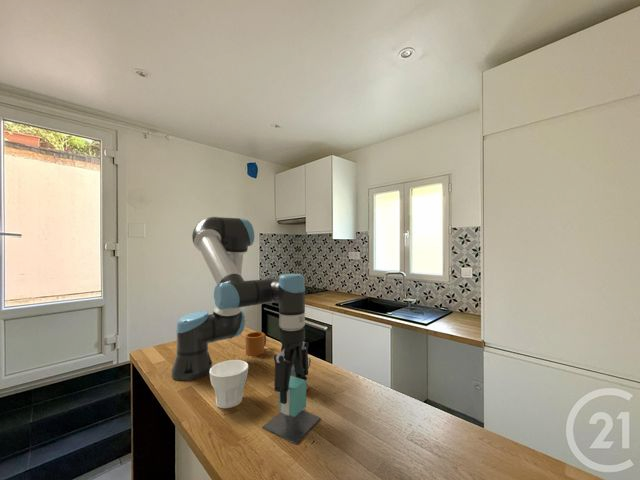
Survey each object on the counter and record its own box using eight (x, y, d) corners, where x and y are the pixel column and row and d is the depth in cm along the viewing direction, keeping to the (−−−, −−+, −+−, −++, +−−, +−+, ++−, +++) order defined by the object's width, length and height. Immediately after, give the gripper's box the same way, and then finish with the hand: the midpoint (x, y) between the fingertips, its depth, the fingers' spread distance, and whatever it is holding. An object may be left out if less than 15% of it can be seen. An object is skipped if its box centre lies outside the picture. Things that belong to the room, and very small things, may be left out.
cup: (210, 417, 81) (211, 380, 81) (207, 396, 92) (207, 364, 92) (252, 405, 86) (252, 371, 87) (244, 387, 97) (244, 357, 98)
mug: (273, 351, 132) (273, 332, 132) (252, 358, 123) (252, 339, 123) (262, 346, 138) (262, 328, 138) (241, 353, 129) (241, 334, 129)
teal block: (279, 410, 77) (278, 383, 77) (291, 400, 81) (290, 375, 82) (294, 416, 74) (294, 388, 74) (306, 406, 78) (305, 380, 79)
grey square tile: (262, 428, 76) (262, 404, 76) (288, 406, 86) (288, 386, 86) (296, 444, 69) (296, 419, 69) (320, 419, 79) (320, 397, 80)
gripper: (281, 338, 68) (281, 430, 68) (319, 321, 84) (320, 396, 83) (260, 333, 72) (260, 421, 72) (300, 318, 88) (300, 389, 87)
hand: (292, 407), depth 77 cm, fingers closed on teal block, 6 cm apart
